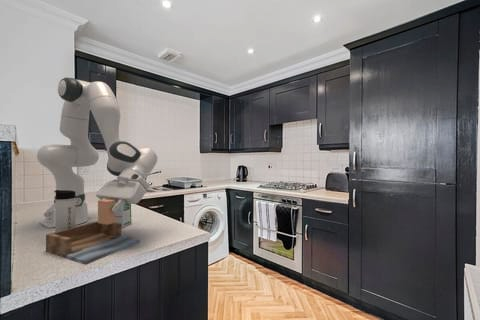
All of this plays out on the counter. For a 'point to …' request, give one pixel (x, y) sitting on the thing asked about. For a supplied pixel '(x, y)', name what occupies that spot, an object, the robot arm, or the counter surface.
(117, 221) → the syrup box
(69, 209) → the travel mug
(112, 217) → the terracotta block
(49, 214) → the robot arm
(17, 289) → the counter surface
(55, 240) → the crate
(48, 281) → the counter surface
